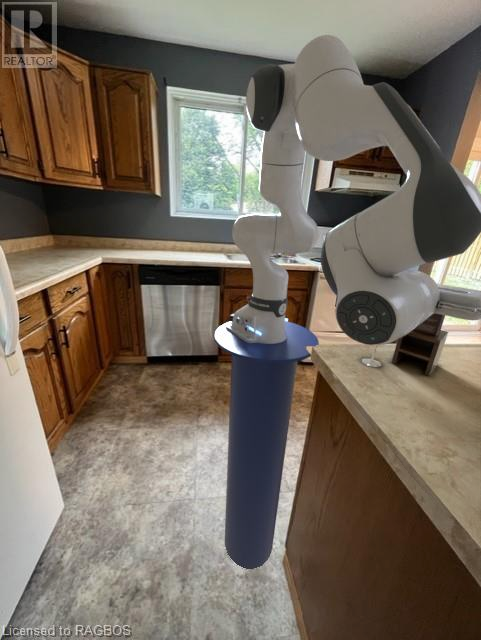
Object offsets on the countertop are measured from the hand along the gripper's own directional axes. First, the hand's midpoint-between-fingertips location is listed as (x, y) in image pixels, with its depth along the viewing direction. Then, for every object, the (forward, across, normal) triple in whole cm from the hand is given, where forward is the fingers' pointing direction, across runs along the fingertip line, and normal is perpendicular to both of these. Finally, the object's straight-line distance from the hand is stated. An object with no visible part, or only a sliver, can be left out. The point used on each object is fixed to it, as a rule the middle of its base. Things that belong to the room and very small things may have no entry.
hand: (426, 287), depth 52 cm
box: (+20, +1, +15) cm, 25 cm away
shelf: (+20, +1, +25) cm, 31 cm away
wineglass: (+11, +10, +25) cm, 29 cm away
